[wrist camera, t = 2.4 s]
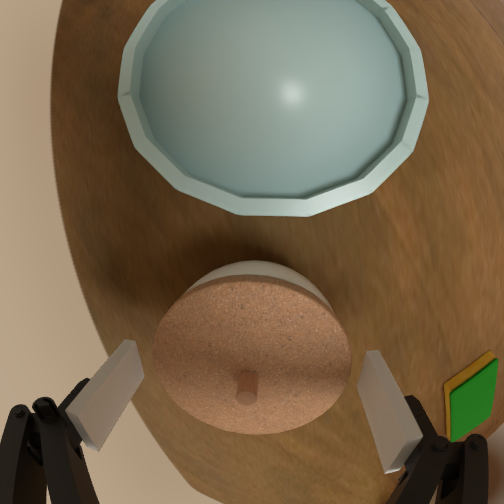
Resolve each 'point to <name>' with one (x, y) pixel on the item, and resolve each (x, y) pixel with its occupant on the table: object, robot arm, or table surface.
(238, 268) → the lidded jar
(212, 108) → the round tray
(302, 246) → the table surface
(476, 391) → the dish sponge
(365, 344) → the table surface
